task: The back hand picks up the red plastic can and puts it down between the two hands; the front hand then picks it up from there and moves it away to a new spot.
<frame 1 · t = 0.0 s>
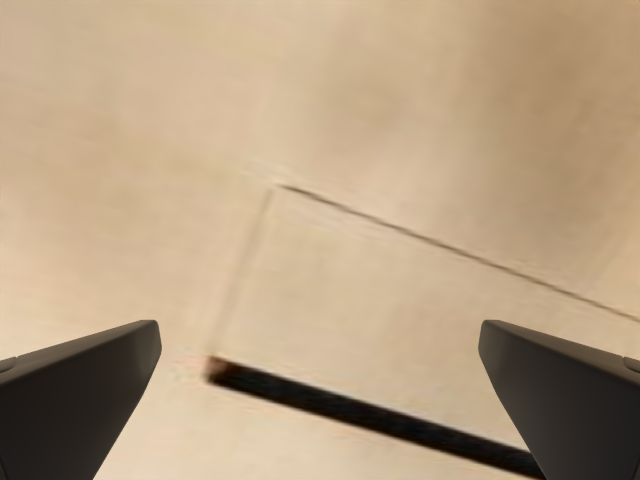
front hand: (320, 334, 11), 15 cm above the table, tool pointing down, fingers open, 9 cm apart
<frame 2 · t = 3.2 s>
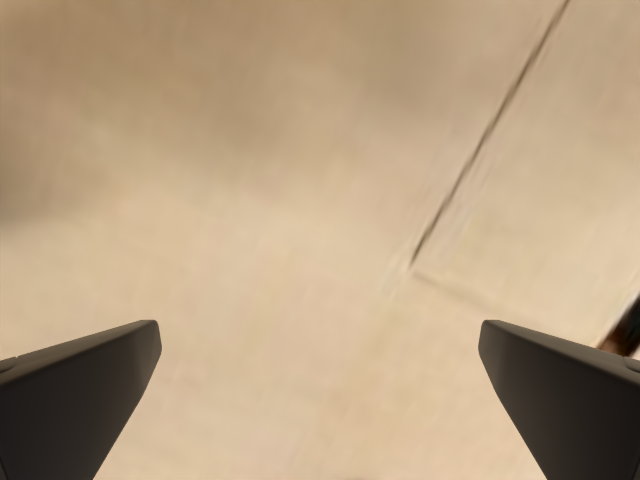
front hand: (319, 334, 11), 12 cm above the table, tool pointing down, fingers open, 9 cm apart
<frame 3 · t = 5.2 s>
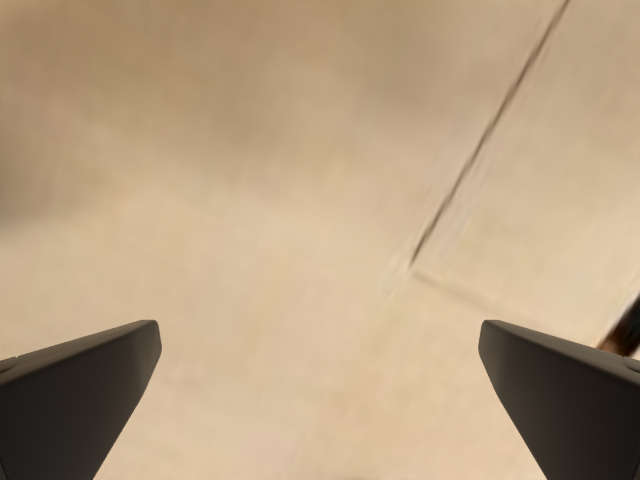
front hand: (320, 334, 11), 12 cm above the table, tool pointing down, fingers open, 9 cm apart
when the back hand's fingers open (3 cm above the table, at t = 7.5 s): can drops 1 cm, on the table.
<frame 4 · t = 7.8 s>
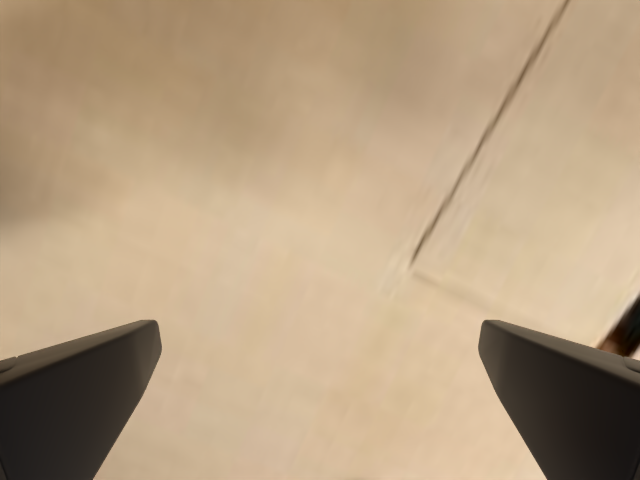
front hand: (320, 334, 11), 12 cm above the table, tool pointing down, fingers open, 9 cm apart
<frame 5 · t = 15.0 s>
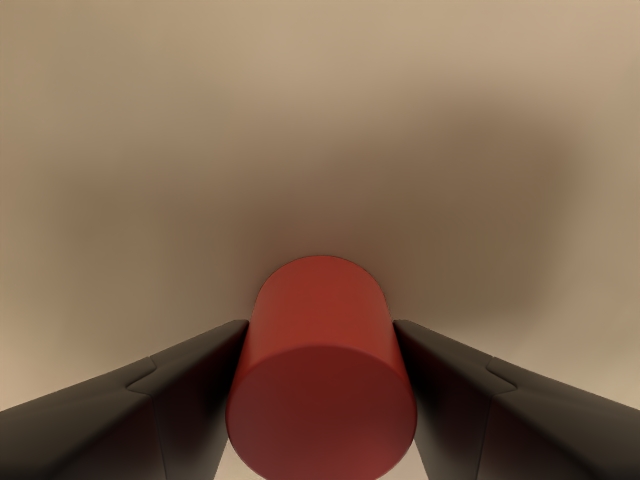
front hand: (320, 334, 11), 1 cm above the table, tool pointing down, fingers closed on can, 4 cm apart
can: (320, 314, 12), on the table, touching front hand
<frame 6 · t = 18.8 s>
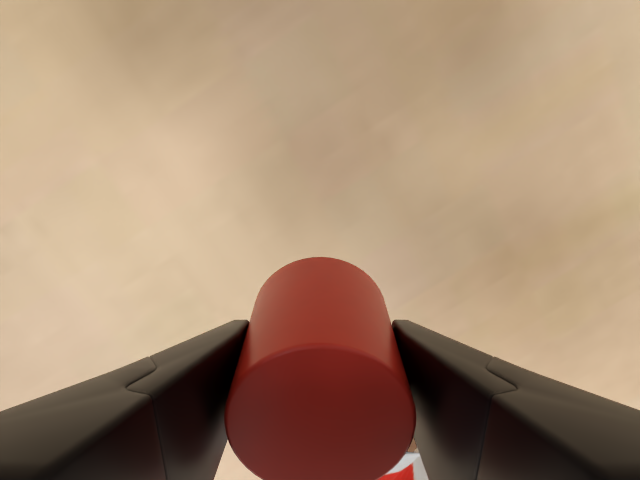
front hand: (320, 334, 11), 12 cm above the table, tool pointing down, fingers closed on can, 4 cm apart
fish: (356, 440, 28), on the table
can: (320, 316, 12), point 11 cm above the table, touching front hand
when the front hand's fingers open (2 cm above the table, at t = 22.9 s): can drops 1 cm, on the table.
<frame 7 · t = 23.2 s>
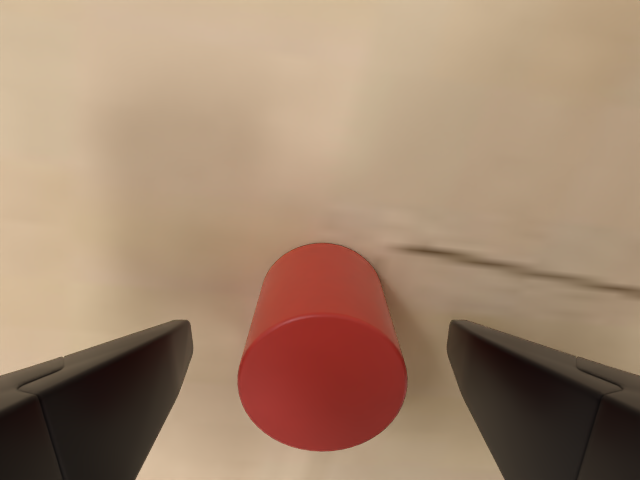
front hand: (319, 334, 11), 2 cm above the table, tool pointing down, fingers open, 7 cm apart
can: (321, 298, 14), on the table
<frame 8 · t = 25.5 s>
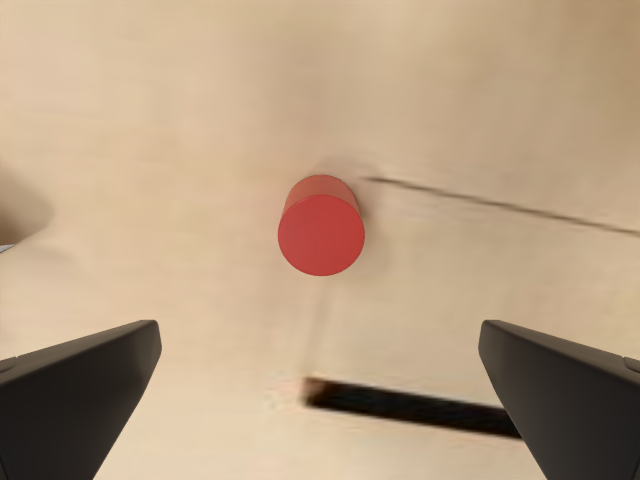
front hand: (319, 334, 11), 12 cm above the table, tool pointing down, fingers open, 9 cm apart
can: (321, 210, 23), on the table
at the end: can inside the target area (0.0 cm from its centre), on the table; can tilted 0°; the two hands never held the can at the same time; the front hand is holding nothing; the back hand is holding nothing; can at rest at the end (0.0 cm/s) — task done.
